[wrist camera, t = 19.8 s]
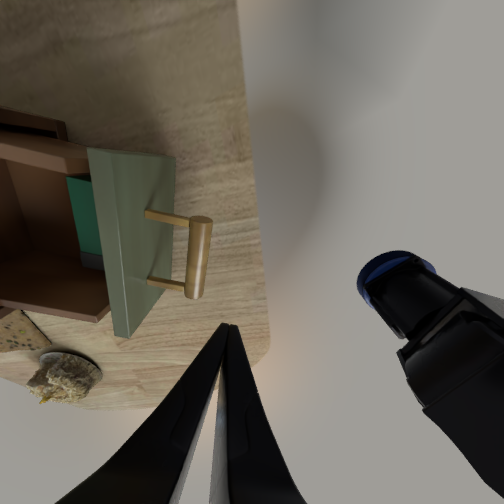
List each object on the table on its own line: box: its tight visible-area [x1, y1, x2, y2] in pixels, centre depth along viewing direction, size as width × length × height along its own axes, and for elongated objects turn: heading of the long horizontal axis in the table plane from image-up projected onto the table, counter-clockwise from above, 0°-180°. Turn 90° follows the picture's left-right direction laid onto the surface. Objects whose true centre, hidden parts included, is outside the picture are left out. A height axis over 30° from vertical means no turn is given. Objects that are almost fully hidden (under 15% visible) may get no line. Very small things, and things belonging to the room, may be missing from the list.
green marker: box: [66, 175, 105, 271], centre depth 16 cm, size 8×2×2 cm, turn 167°
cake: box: [26, 352, 102, 404], centre depth 29 cm, size 10×10×5 cm
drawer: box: [0, 125, 213, 339], centre depth 15 cm, size 19×14×8 cm
